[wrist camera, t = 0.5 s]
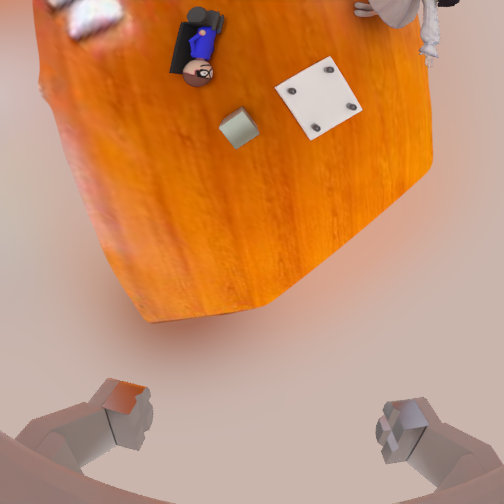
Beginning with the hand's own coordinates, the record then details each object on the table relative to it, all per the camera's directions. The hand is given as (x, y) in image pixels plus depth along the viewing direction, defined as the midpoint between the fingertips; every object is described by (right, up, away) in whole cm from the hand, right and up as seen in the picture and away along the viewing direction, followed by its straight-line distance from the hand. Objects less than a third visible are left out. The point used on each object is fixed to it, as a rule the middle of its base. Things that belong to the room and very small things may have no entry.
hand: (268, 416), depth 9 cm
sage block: (-3, +30, +43) cm, 52 cm away
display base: (+12, +34, +40) cm, 54 cm away
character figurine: (-10, +42, +35) cm, 55 cm away
